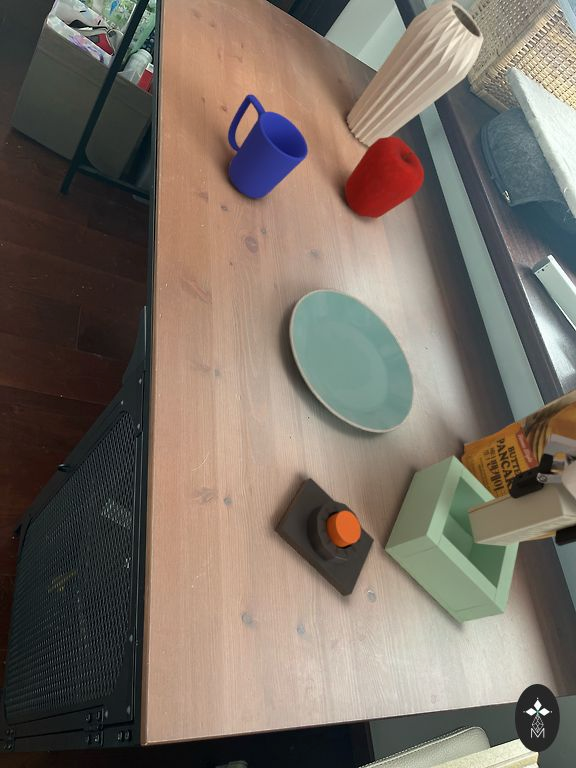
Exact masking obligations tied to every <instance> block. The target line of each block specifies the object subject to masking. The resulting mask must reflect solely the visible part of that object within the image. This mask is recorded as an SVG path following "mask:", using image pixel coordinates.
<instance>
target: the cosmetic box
mask: <svg viewBox="0 0 576 768" xmlns="http://www.w3.org/2000/svg"><path fill="white" fill-rule="evenodd" d="M467 511H468V515H469V519H470V524H471V528H472V532H473V537H474V541H475V543H479V544H488V545H499V546H507V545H510V544H514V543H517V542H519V543H520V542H525V541H524V540H527V539H531V538H534V537H538V536H541V535H544V534H548V533H551V532H554V531H558V530H561V529H565V528H568V527H571V526H575V525H576V499H575V498H574V497H573V496H572V495H571V494H570V493H569V491H568V490H567V489H566V488H565V486H564V484H553V483H544V487H543V489H541V490H538V491H536V492H533V493H530V494H527V495H525V496H522V497H519V498H517V499H515V498H512V497H511V496H510V494H507V495H504V496H501V497H499V498H496V499H493V500H490V501H488V502H485V503H482V504H479V505H477V506H474V507H471V508H469V509H467Z"/></svg>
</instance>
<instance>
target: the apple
mask: <svg viewBox="0 0 576 768" xmlns="http://www.w3.org/2000/svg"><path fill="white" fill-rule="evenodd" d="M424 176H425V171H424V167H423V165H422V163H421V161H420V158H419V157H418V156H417V155H416V153H415V151H413V150H412V149H411V147H409V146H408V144H407V143H405V141H403V140H402V139H401V138H399V137H396V136H389V137H386V138H379V139H378V140H377V141H376V142H374V143H373V144H372V145H371V146H370V147H368V148H367V150H366V151H365V153H364V154H363V156H362V157H361V159H360V160H359V162H358V163H357V165H356V166H355V168H354V169H353V171H352V172H351V173H350V175H349V176H348V177H347V179H346V181H345V199H346V202H347V204H348V206H349V207H350V209H351V210H352V211H353V213H354V214H356V215H358V216H360V217H366V218H372V219H378V218H380V217H382V216H385V214H387V213H388V212H390V211H392V210H393V209H394V208H396V207H398V206H399V205H401V204H403V203H404V202H405V201H407V200H409V199H410V198H413V196H414V195H415V194H416V193H417V192H418V191H419V190H420V189H421V188H422V186H423V183H424V178H425V177H424Z"/></svg>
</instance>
